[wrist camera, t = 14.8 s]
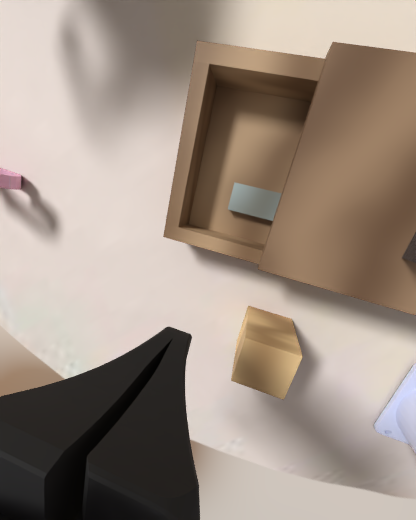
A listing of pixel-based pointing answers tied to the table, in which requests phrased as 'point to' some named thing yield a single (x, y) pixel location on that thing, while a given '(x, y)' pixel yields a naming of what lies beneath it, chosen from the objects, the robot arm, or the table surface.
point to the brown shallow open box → (237, 145)
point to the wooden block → (266, 353)
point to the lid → (353, 182)
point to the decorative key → (9, 179)
